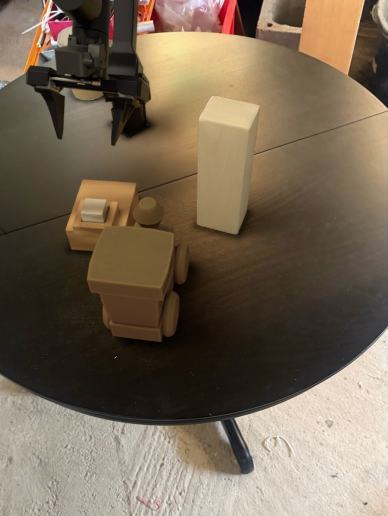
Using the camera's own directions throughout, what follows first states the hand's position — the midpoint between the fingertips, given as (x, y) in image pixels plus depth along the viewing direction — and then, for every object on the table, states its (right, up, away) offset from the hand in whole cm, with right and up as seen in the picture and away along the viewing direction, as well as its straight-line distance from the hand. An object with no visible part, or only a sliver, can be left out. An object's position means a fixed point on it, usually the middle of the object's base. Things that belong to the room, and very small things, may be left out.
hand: (86, 142), depth 78 cm
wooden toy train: (+11, -26, 0) cm, 28 cm away
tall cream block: (+23, -10, +10) cm, 27 cm away
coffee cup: (-6, +25, +32) cm, 41 cm away
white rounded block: (+1, -12, +2) cm, 12 cm away
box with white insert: (+2, -12, +9) cm, 15 cm away
